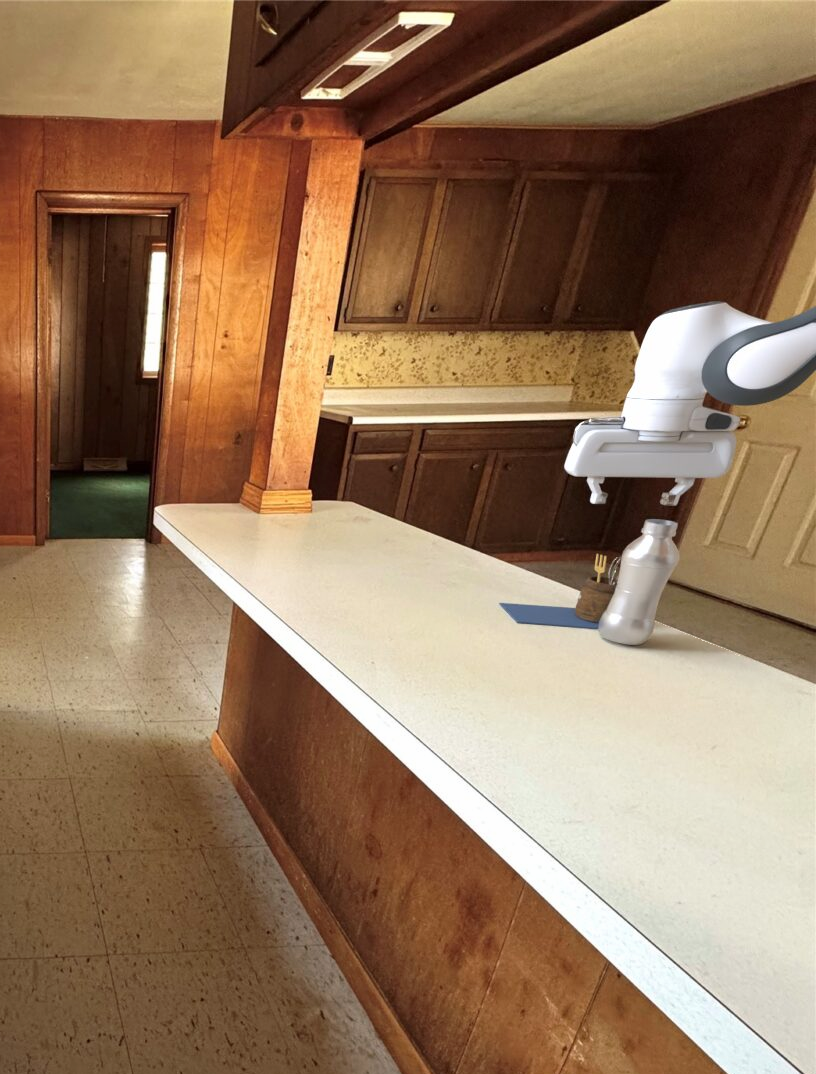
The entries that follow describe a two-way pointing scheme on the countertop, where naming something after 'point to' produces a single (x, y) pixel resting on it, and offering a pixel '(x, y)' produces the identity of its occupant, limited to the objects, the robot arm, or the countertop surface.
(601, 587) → the utensil holder
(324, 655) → the countertop surface
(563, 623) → the mat
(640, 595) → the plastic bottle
